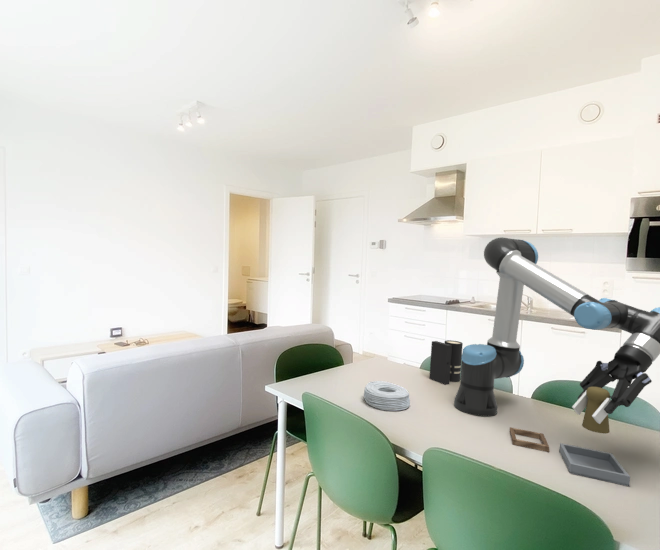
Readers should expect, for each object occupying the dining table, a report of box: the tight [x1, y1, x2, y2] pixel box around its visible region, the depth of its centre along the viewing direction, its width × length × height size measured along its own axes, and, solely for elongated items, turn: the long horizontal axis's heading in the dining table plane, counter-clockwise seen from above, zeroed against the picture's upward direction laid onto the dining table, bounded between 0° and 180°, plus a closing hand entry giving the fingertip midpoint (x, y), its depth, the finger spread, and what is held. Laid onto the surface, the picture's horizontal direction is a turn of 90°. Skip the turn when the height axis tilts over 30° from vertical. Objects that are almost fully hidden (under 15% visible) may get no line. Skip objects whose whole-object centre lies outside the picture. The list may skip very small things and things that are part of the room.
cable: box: [363, 380, 411, 412], centre depth 138 cm, size 18×18×6 cm
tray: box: [558, 442, 631, 487], centre depth 98 cm, size 13×13×2 cm
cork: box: [581, 387, 611, 434], centre depth 98 cm, size 6×6×11 cm
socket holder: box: [509, 427, 550, 453], centre depth 112 cm, size 10×10×2 cm
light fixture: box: [428, 339, 463, 386], centre depth 171 cm, size 10×14×18 cm
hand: (585, 415), depth 97 cm, fingers closed on cork, 5 cm apart
